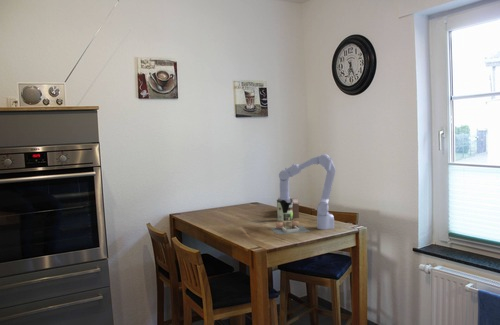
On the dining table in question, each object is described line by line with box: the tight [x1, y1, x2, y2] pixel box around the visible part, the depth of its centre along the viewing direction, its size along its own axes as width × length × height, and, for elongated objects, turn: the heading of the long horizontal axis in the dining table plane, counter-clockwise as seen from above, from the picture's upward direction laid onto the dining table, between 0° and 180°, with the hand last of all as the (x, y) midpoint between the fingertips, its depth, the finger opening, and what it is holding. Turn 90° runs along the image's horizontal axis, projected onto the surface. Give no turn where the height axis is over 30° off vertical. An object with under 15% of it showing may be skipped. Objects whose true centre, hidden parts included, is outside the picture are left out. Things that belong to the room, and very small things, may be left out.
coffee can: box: [276, 198, 294, 222], centre depth 254 cm, size 10×10×14 cm
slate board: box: [269, 225, 312, 235], centre depth 226 cm, size 20×16×1 cm
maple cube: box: [282, 221, 292, 229], centre depth 230 cm, size 4×4×4 cm
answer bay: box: [282, 226, 300, 233], centre depth 224 cm, size 8×8×2 cm
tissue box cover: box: [290, 197, 300, 219], centre depth 276 cm, size 26×14×10 cm, turn 173°
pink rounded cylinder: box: [291, 220, 300, 228], centre depth 231 cm, size 4×4×4 cm
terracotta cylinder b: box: [275, 221, 283, 229], centre depth 229 cm, size 4×4×4 cm
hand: (285, 212), depth 233 cm, fingers closed
